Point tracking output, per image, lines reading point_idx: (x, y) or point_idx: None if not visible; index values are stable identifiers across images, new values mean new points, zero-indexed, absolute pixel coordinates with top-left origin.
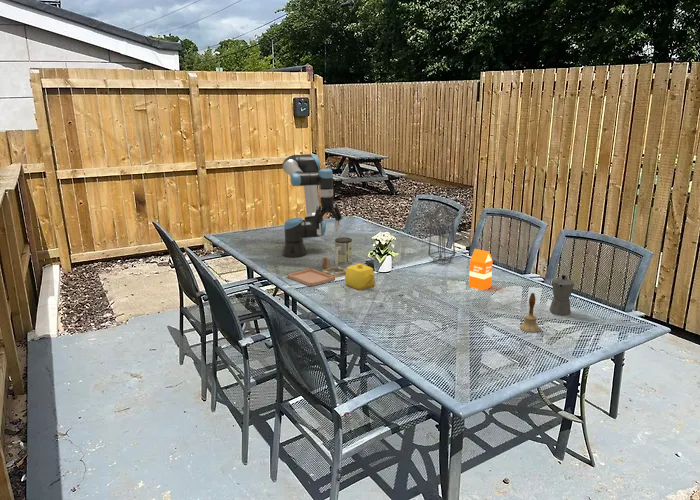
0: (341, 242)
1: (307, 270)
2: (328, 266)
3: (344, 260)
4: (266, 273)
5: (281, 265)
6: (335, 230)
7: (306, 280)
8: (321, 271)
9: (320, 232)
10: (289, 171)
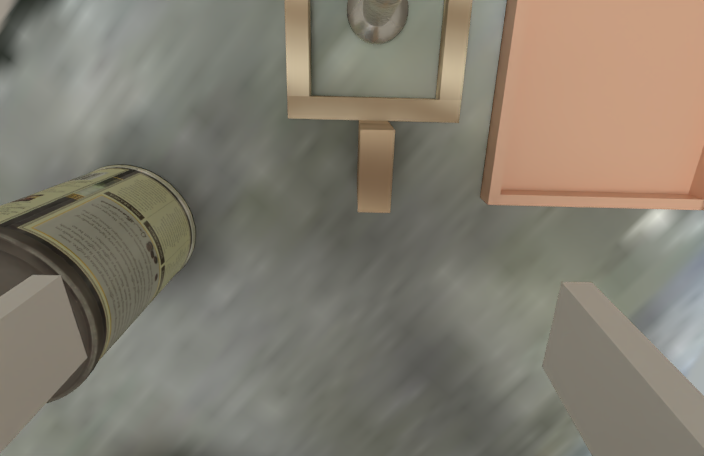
0: (70, 266)
1: (530, 193)
2: (379, 122)
3: (150, 185)
4: (688, 358)
5: (507, 417)
6: (68, 354)
7: (696, 24)
8: (457, 114)
9: (604, 315)
10: None
